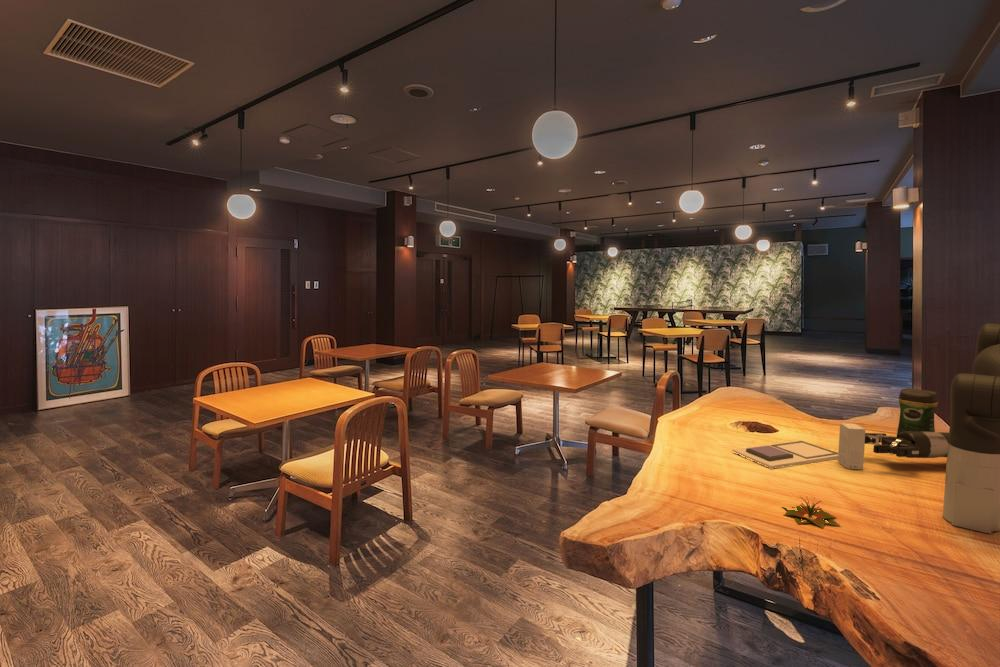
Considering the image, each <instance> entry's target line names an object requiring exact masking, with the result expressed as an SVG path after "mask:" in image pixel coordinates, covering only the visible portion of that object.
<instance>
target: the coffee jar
mask: <svg viewBox="0 0 1000 667" xmlns="http://www.w3.org/2000/svg"><path fill="white" fill-rule="evenodd" d="M897 401H898V404H899V406H900V409H899V410H900V411H899V420H898V425H897V430H896V436H895V437H897V436H898V435H899V434H900V433H901V432H904V431H927V432H936V430H935V429H936V427H935V413H936V412H935V411H936V409H937V407H938V405H939V398H938V394H937V391H931V390H925V389H919V388H912V387H910V388H909V387H908V388H907V387H906V388H903V389H902V388H901V390H900V393H899V395H898V400H897Z"/></svg>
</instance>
